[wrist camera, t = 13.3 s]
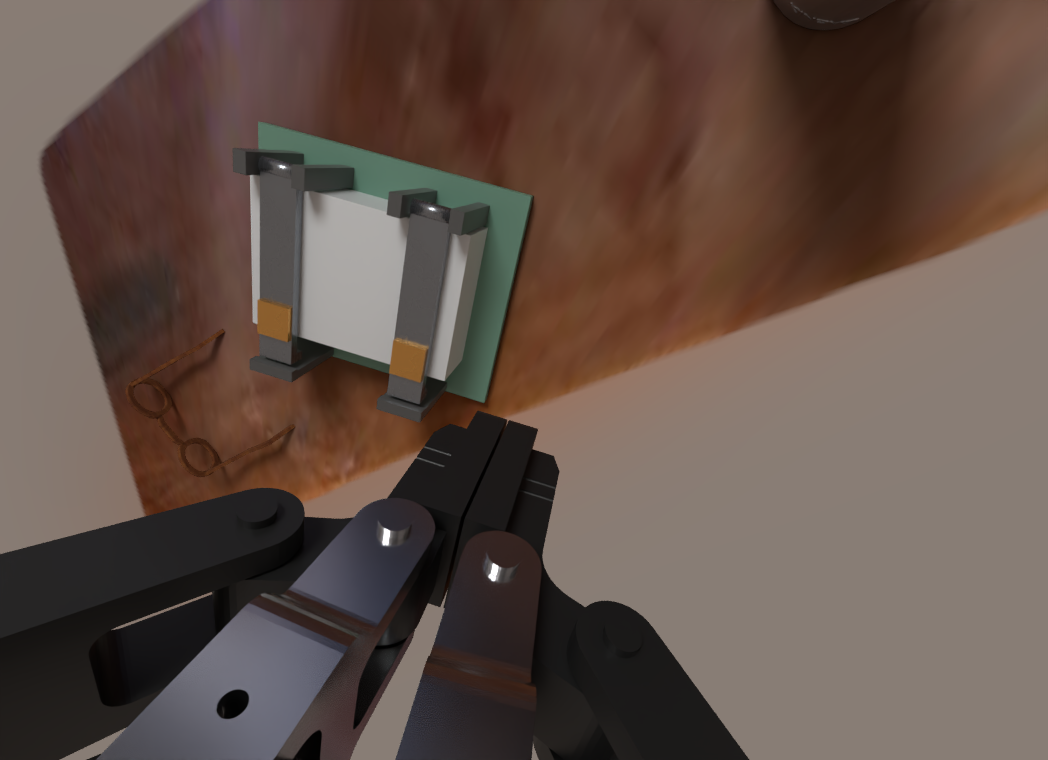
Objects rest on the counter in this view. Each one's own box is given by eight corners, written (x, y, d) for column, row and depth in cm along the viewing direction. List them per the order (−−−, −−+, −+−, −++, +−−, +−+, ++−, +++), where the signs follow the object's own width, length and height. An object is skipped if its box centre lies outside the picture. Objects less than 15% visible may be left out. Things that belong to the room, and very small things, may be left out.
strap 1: (274, 156, 37) (256, 155, 35) (309, 166, 37) (293, 166, 35) (271, 349, 44) (256, 356, 42) (301, 358, 43) (288, 366, 42)
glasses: (152, 372, 55) (111, 390, 51) (225, 326, 51) (187, 342, 46) (225, 462, 59) (192, 486, 55) (299, 426, 55) (270, 449, 50)
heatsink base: (266, 122, 41) (190, 113, 34) (533, 195, 39) (513, 202, 32) (267, 331, 50) (207, 359, 42) (486, 398, 48) (462, 439, 41)
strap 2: (420, 197, 36) (410, 198, 34) (458, 207, 36) (449, 209, 34) (394, 387, 43) (384, 396, 41) (426, 396, 43) (417, 406, 41)
